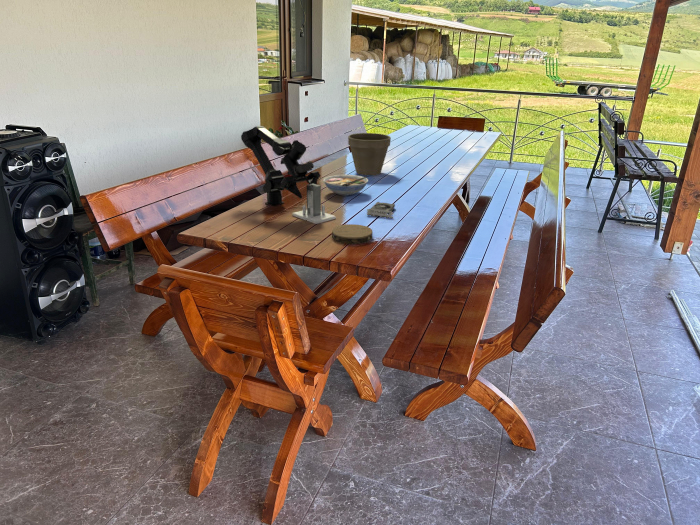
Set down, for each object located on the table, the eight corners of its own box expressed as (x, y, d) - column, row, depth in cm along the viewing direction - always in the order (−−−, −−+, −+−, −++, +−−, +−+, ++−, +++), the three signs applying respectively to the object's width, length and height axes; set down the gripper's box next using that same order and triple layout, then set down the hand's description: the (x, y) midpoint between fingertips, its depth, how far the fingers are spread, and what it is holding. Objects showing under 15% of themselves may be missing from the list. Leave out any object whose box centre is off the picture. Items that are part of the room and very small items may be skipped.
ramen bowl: (339, 186, 281) (339, 170, 278) (377, 191, 271) (377, 176, 267) (313, 196, 261) (312, 179, 258) (352, 203, 251) (352, 186, 248)
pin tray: (292, 215, 230) (292, 204, 228) (311, 210, 238) (311, 199, 236) (316, 223, 220) (316, 212, 218) (335, 218, 227) (335, 207, 225)
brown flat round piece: (359, 229, 215) (360, 222, 214) (380, 241, 202) (380, 233, 201) (325, 234, 208) (325, 227, 207) (343, 247, 195) (343, 239, 194)
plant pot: (387, 178, 298) (388, 140, 290) (344, 176, 302) (344, 138, 293) (391, 169, 321) (392, 133, 313) (351, 167, 324) (351, 132, 316)
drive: (307, 214, 229) (306, 184, 224) (313, 212, 231) (312, 183, 226) (314, 216, 225) (314, 187, 220) (320, 214, 228) (320, 185, 223)
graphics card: (393, 212, 227) (366, 208, 230) (392, 220, 228) (366, 217, 231) (401, 202, 242) (376, 199, 245) (400, 210, 243) (375, 207, 246)
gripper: (283, 158, 218) (301, 189, 215) (317, 152, 230) (334, 182, 227) (273, 173, 226) (289, 203, 223) (306, 167, 238) (322, 196, 235)
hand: (309, 196), depth 227 cm, fingers open, 9 cm apart
